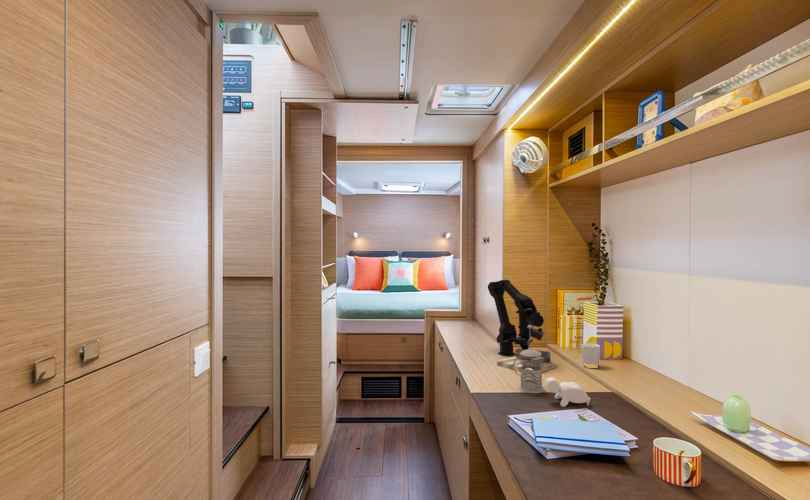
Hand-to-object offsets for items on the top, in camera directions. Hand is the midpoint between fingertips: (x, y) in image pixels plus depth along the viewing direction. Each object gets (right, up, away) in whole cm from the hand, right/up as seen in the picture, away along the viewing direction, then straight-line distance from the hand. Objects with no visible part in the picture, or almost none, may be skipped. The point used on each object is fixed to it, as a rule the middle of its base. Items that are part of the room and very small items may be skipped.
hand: (526, 355), depth 192 cm
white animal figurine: (-2, -3, -54) cm, 54 cm away
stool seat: (-2, -3, -8) cm, 9 cm away
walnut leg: (+2, 0, -6) cm, 6 cm away
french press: (-11, -3, -39) cm, 41 cm away
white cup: (+26, -2, -12) cm, 29 cm away
